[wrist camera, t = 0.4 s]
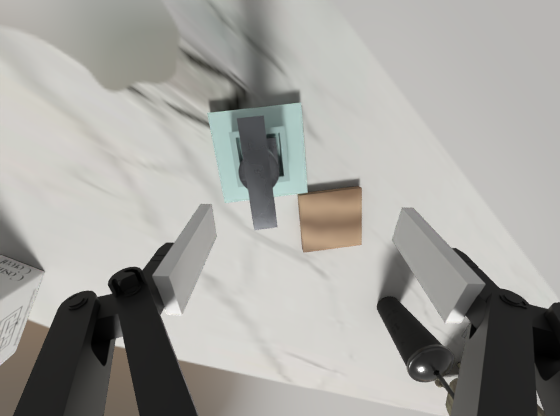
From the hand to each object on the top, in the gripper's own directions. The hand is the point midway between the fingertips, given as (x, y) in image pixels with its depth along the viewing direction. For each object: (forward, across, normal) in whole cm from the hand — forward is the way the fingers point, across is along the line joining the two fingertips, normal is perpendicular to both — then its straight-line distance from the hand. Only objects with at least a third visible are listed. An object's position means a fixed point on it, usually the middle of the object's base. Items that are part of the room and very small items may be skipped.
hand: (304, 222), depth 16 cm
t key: (+22, -5, -2) cm, 23 cm away
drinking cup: (+20, +21, -34) cm, 45 cm away
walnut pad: (+23, +7, -14) cm, 27 cm away
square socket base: (+24, -6, -2) cm, 25 cm away
